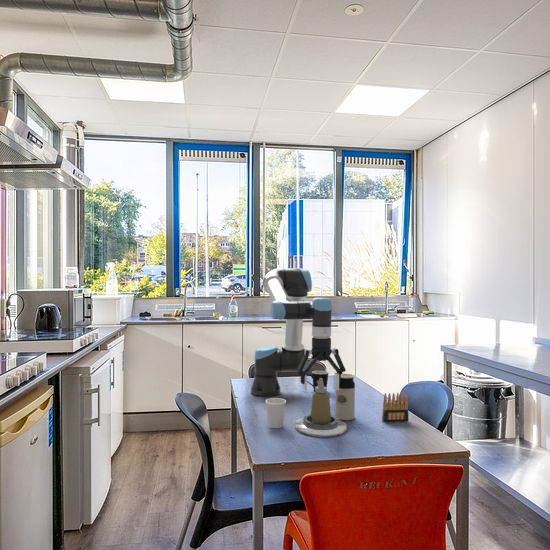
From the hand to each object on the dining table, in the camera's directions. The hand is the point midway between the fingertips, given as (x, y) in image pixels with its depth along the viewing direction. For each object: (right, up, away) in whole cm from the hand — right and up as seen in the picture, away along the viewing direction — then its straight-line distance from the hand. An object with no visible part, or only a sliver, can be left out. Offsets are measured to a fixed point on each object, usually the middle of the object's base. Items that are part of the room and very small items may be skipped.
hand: (320, 391), depth 172 cm
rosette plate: (0, -15, 0) cm, 15 cm away
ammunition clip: (+32, -15, +8) cm, 36 cm away
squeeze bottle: (0, -13, 0) cm, 13 cm away
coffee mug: (+4, -15, +56) cm, 59 cm away
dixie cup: (-18, -15, +2) cm, 23 cm away
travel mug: (+12, -15, +13) cm, 23 cm away
